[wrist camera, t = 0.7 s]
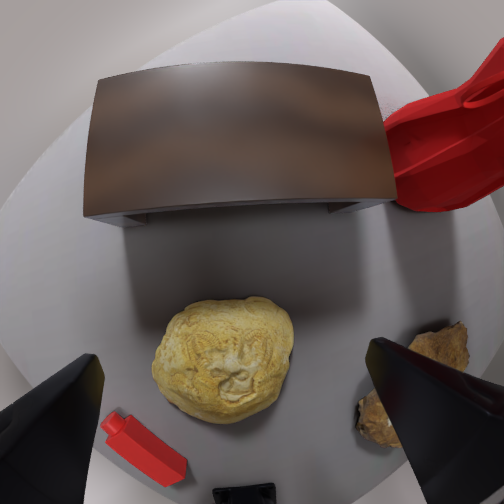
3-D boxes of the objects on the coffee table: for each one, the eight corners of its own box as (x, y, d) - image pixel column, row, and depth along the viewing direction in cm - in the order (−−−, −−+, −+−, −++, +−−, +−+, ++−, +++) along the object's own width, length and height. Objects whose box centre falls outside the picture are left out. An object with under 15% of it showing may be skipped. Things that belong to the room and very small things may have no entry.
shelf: (350, 212, 21) (398, 198, 15) (122, 227, 19) (82, 217, 12) (335, 114, 21) (369, 75, 15) (125, 121, 19) (98, 79, 12)
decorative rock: (420, 286, 22) (328, 413, 22) (447, 291, 18) (342, 436, 18) (468, 339, 23) (392, 443, 22) (491, 347, 19) (408, 461, 18)
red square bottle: (187, 459, 19) (185, 478, 17) (168, 469, 19) (165, 487, 16) (121, 404, 19) (111, 421, 16) (104, 417, 18) (93, 433, 16)
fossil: (192, 286, 14) (339, 374, 15) (210, 258, 19) (319, 329, 20) (120, 401, 15) (238, 459, 17) (146, 359, 21) (241, 411, 22)
